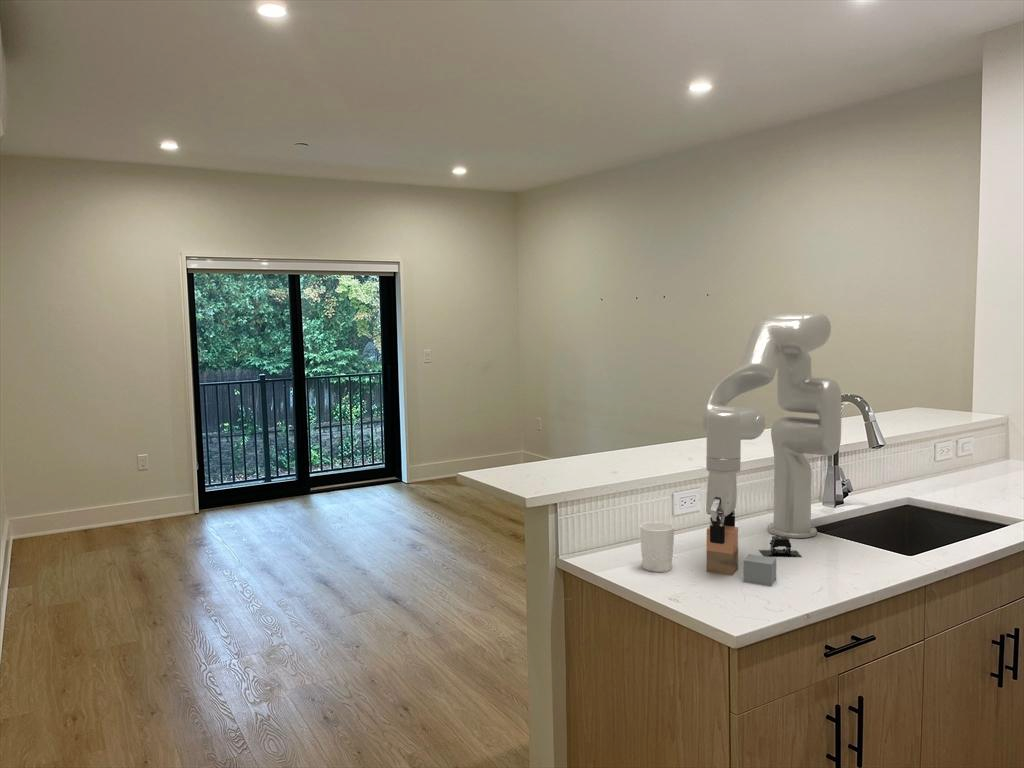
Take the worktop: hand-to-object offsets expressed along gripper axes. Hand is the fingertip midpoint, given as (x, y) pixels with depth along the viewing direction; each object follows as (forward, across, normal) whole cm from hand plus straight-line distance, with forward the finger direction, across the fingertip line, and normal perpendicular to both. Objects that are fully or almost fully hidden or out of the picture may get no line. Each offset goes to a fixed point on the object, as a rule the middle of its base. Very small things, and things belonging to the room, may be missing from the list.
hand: (722, 537), depth 171 cm
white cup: (+8, +5, -14) cm, 17 cm away
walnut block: (+8, 0, 0) cm, 8 cm away
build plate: (+9, -19, +10) cm, 23 cm away
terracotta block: (+3, 0, 0) cm, 3 cm away
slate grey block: (+8, +3, +9) cm, 12 cm away
